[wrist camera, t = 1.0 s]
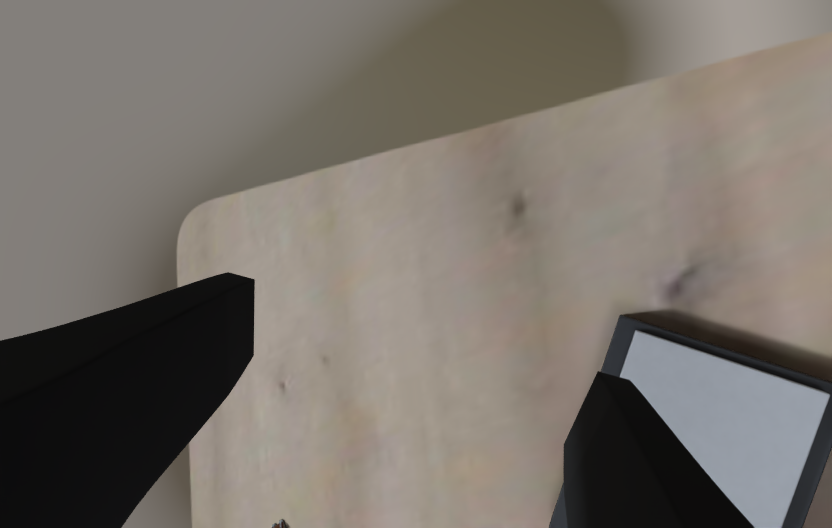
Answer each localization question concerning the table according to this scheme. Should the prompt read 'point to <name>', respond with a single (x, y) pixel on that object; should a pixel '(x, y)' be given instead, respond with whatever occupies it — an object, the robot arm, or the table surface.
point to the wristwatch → (279, 525)
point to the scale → (731, 418)
